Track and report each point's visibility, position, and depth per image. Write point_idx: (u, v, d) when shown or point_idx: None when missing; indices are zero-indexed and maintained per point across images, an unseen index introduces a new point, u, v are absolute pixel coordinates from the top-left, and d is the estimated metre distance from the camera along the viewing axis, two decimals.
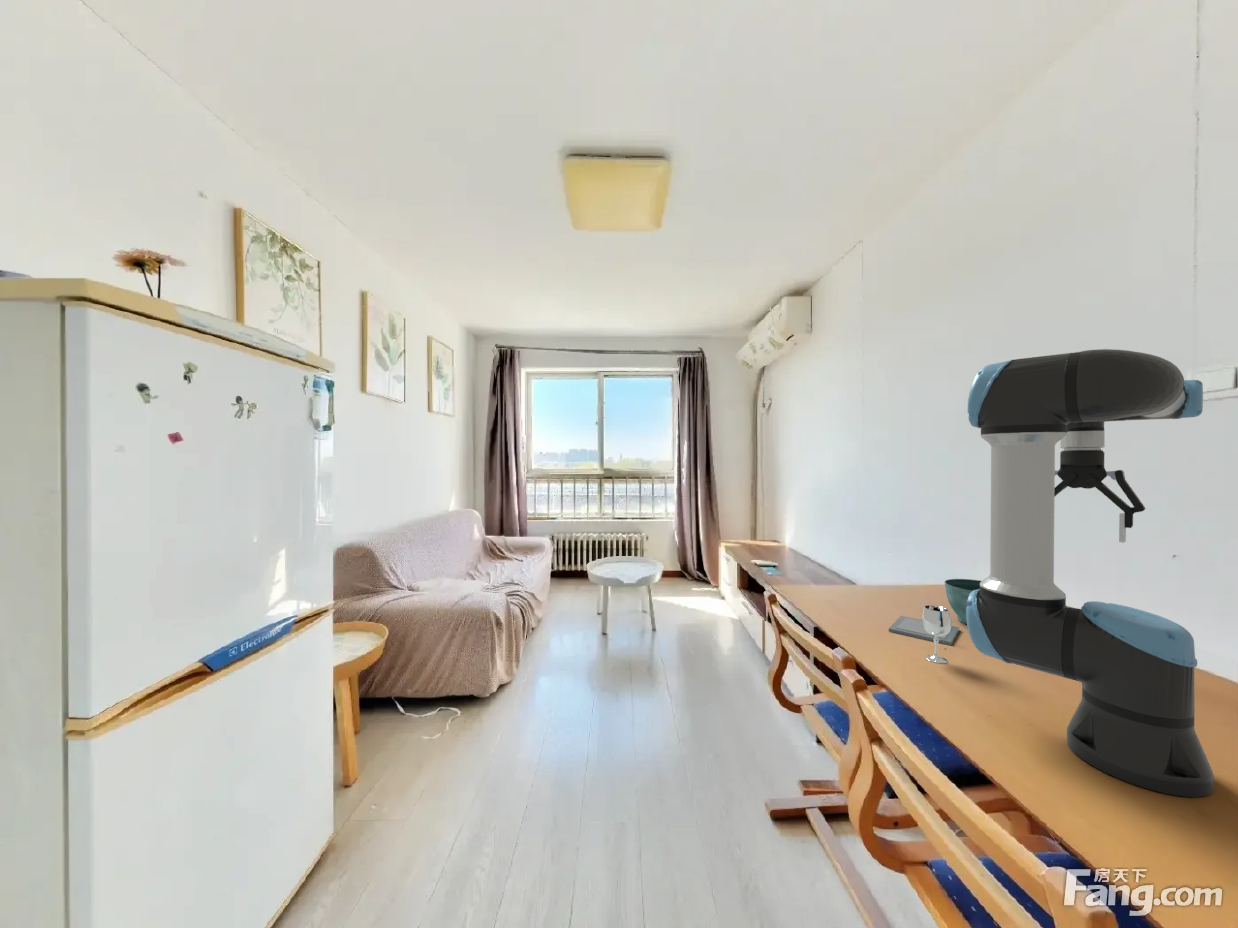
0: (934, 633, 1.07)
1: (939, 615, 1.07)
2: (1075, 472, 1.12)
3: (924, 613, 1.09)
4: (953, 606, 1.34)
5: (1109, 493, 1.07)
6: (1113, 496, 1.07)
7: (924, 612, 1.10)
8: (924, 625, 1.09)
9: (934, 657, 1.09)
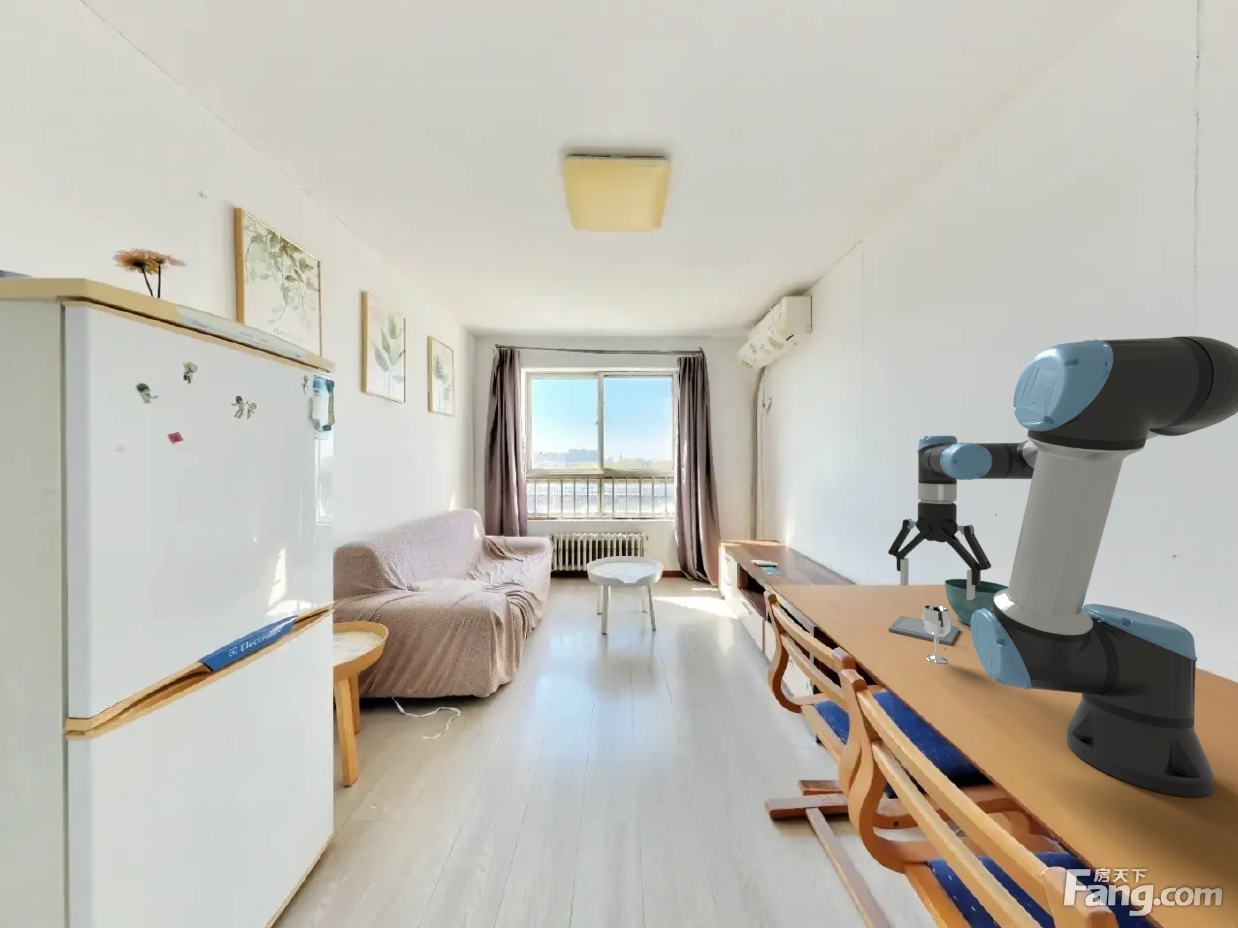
0: (934, 633, 1.07)
1: (939, 615, 1.07)
2: (930, 525, 1.09)
3: (924, 613, 1.09)
4: (953, 606, 1.34)
5: (958, 549, 1.05)
6: (962, 552, 1.04)
7: (924, 612, 1.10)
8: (924, 625, 1.09)
9: (934, 657, 1.09)
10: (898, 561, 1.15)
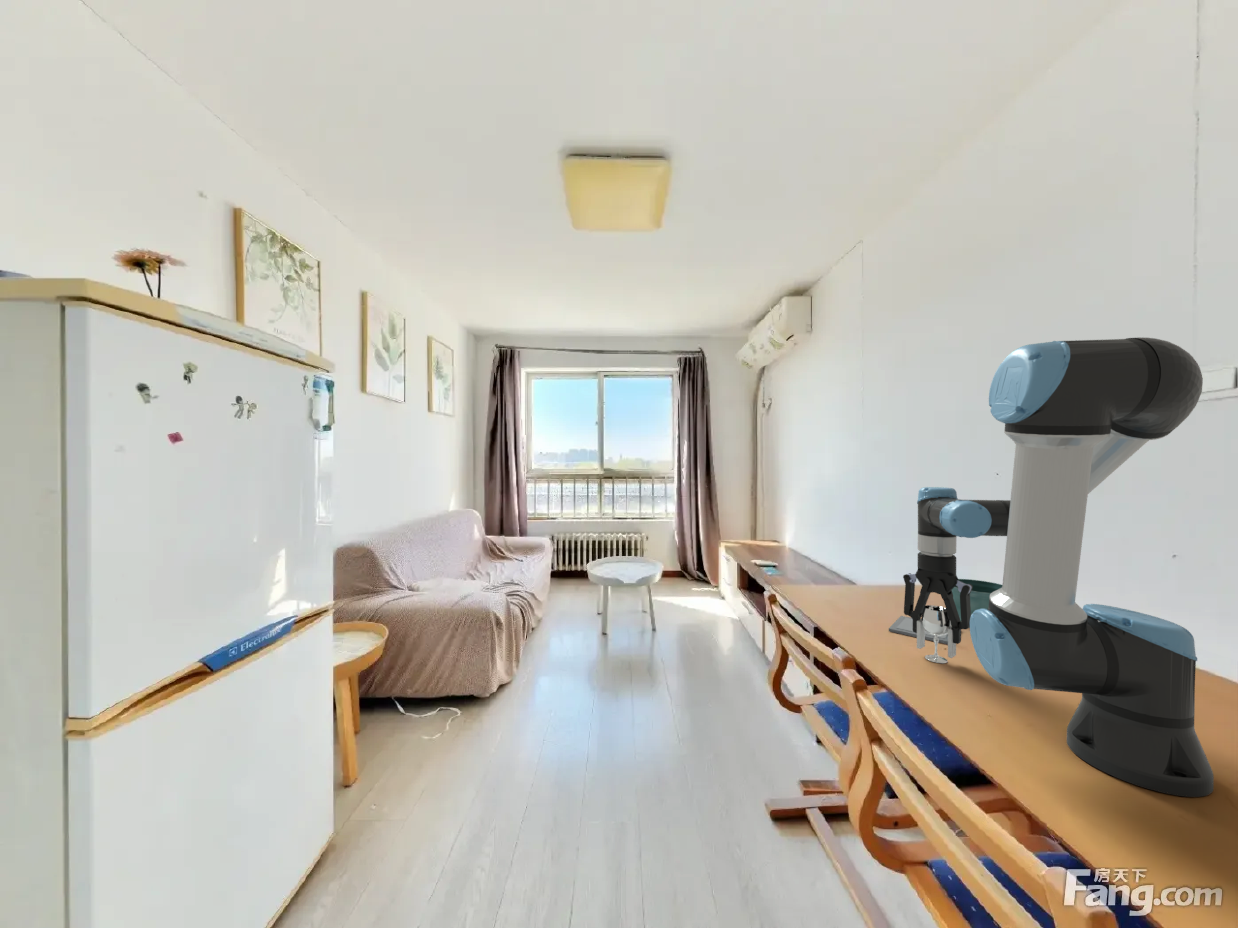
0: (934, 633, 1.07)
1: (939, 615, 1.07)
2: (928, 572, 1.09)
3: (924, 613, 1.09)
4: None
5: (949, 605, 1.06)
6: (951, 609, 1.06)
7: (924, 612, 1.10)
8: (924, 625, 1.09)
9: (934, 657, 1.09)
10: (914, 622, 1.12)
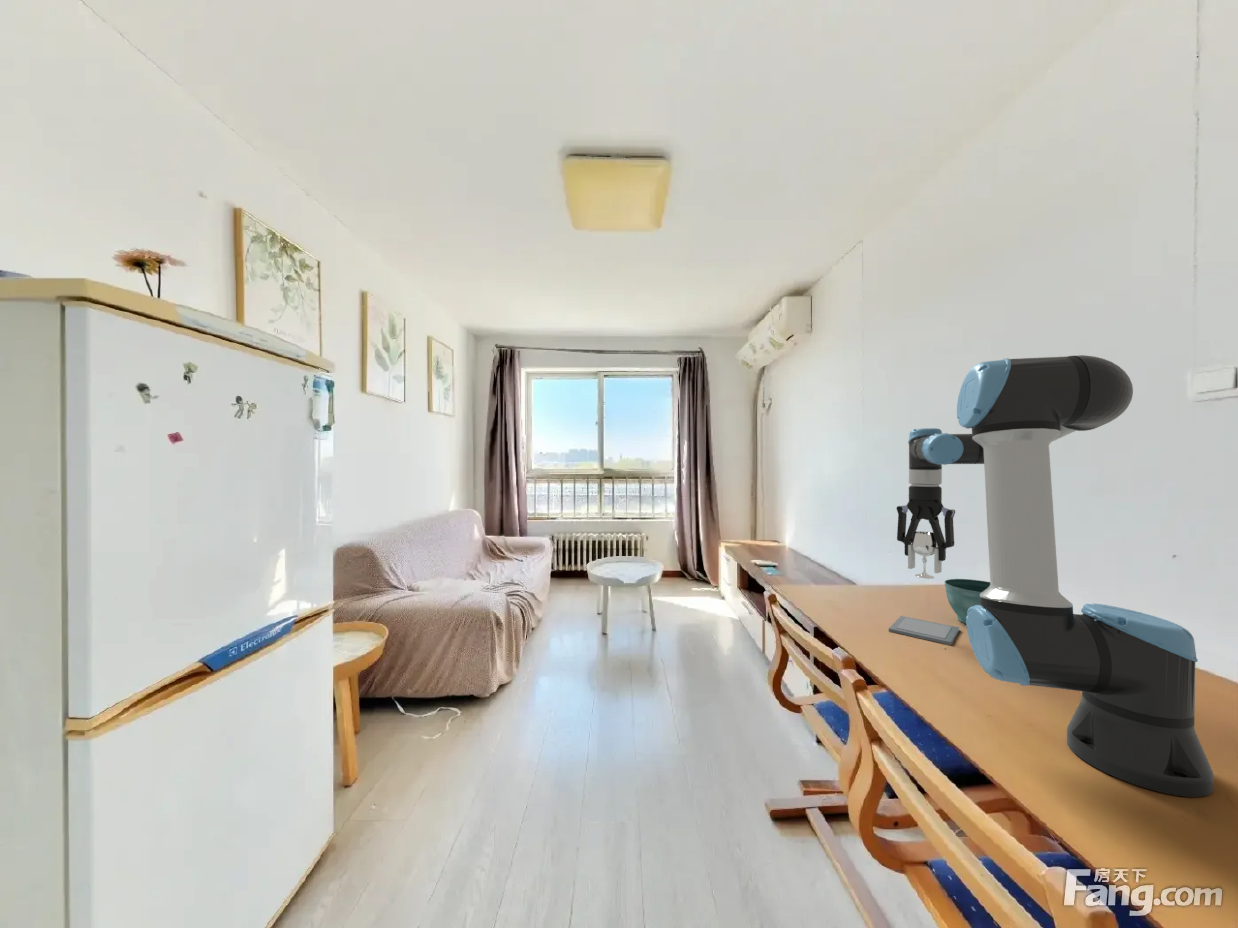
0: (922, 553, 1.25)
1: (927, 537, 1.25)
2: (918, 502, 1.27)
3: (914, 537, 1.27)
4: (953, 606, 1.34)
5: (935, 528, 1.24)
6: (937, 531, 1.23)
7: (914, 536, 1.27)
8: (914, 547, 1.27)
9: (923, 575, 1.26)
10: (906, 546, 1.30)
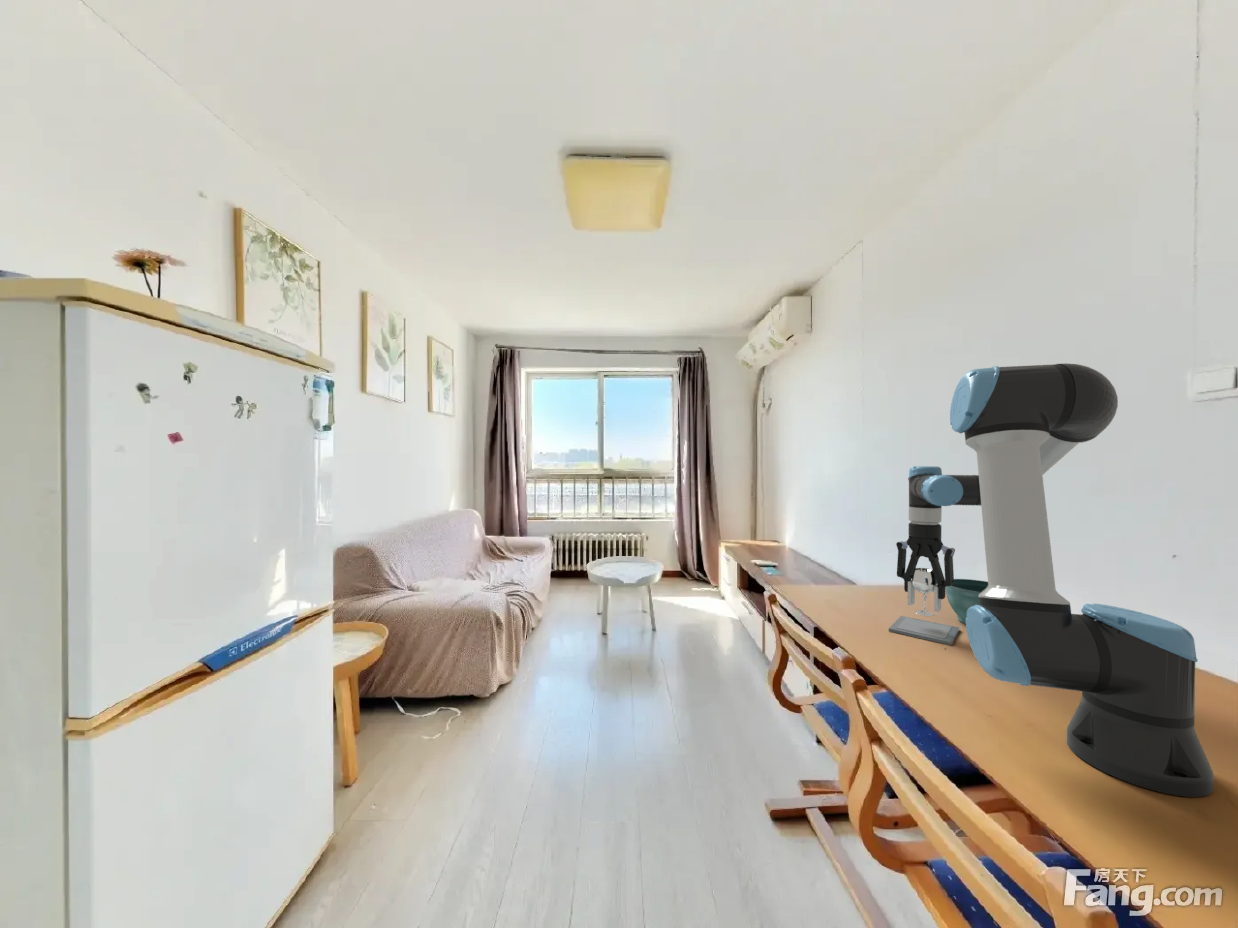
0: (922, 590, 1.25)
1: (927, 575, 1.25)
2: (918, 539, 1.27)
3: (914, 574, 1.27)
4: (953, 606, 1.34)
5: (935, 566, 1.24)
6: (936, 570, 1.24)
7: (914, 573, 1.28)
8: (914, 584, 1.27)
9: (922, 612, 1.27)
10: (905, 583, 1.30)
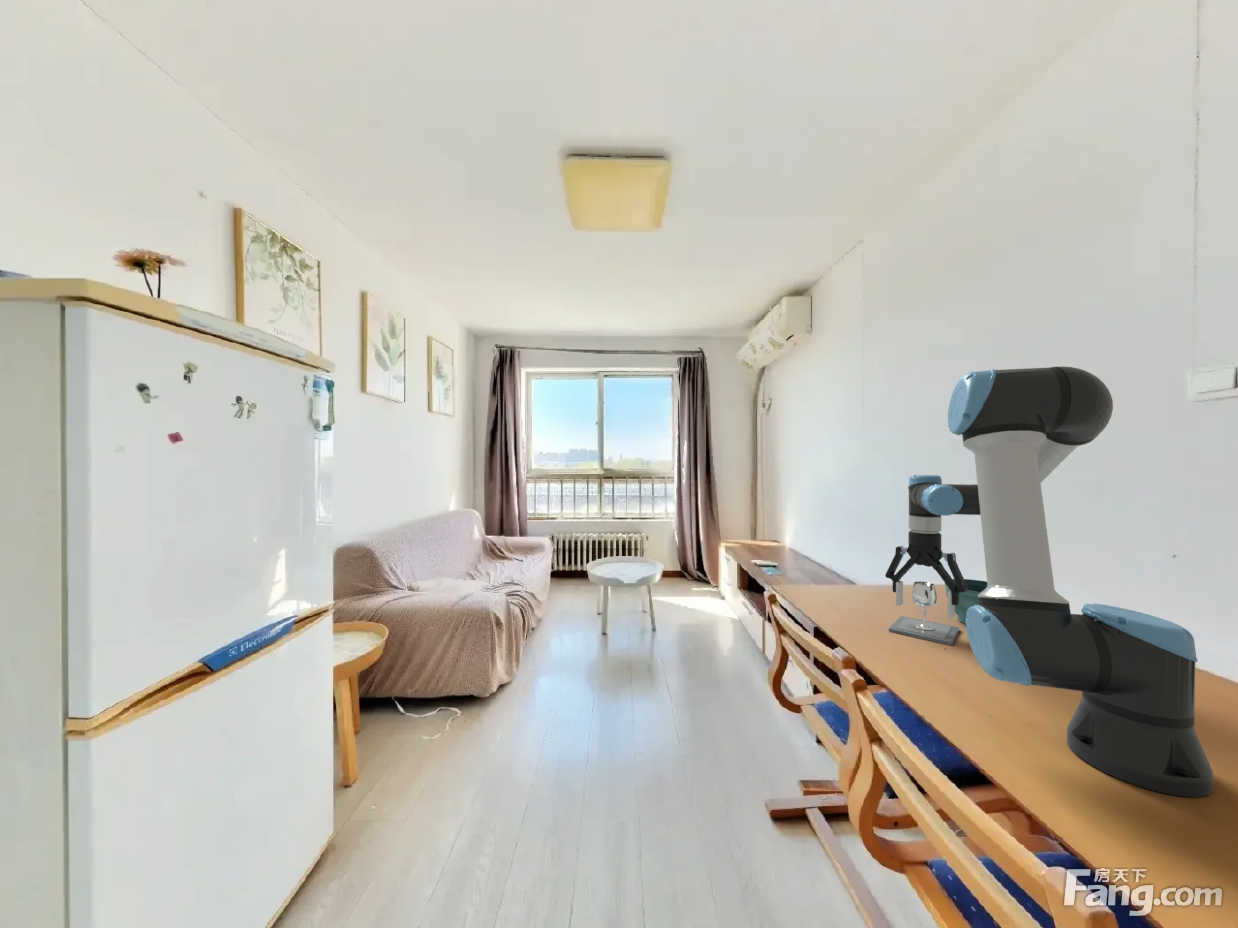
0: (922, 604, 1.26)
1: (926, 588, 1.25)
2: (919, 550, 1.27)
3: (913, 587, 1.28)
4: None
5: (942, 573, 1.23)
6: (944, 576, 1.22)
7: (913, 587, 1.28)
8: (914, 598, 1.27)
9: (922, 625, 1.27)
10: (894, 583, 1.33)
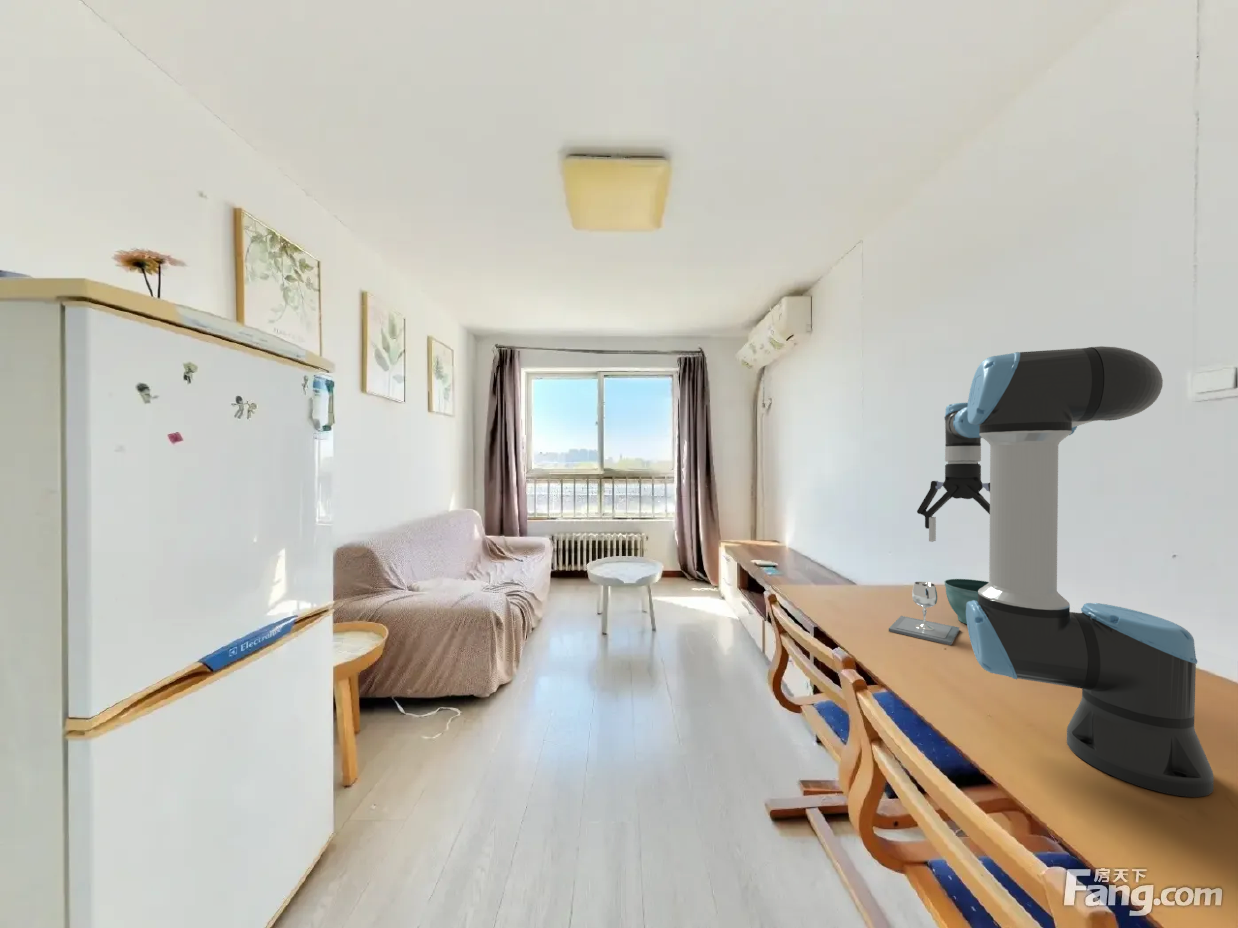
0: (922, 605, 1.25)
1: (927, 589, 1.25)
2: (957, 484, 1.21)
3: (914, 588, 1.27)
4: (953, 606, 1.34)
5: (984, 503, 1.17)
6: (987, 506, 1.16)
7: (914, 587, 1.27)
8: (914, 598, 1.27)
9: (922, 626, 1.27)
10: (926, 519, 1.27)
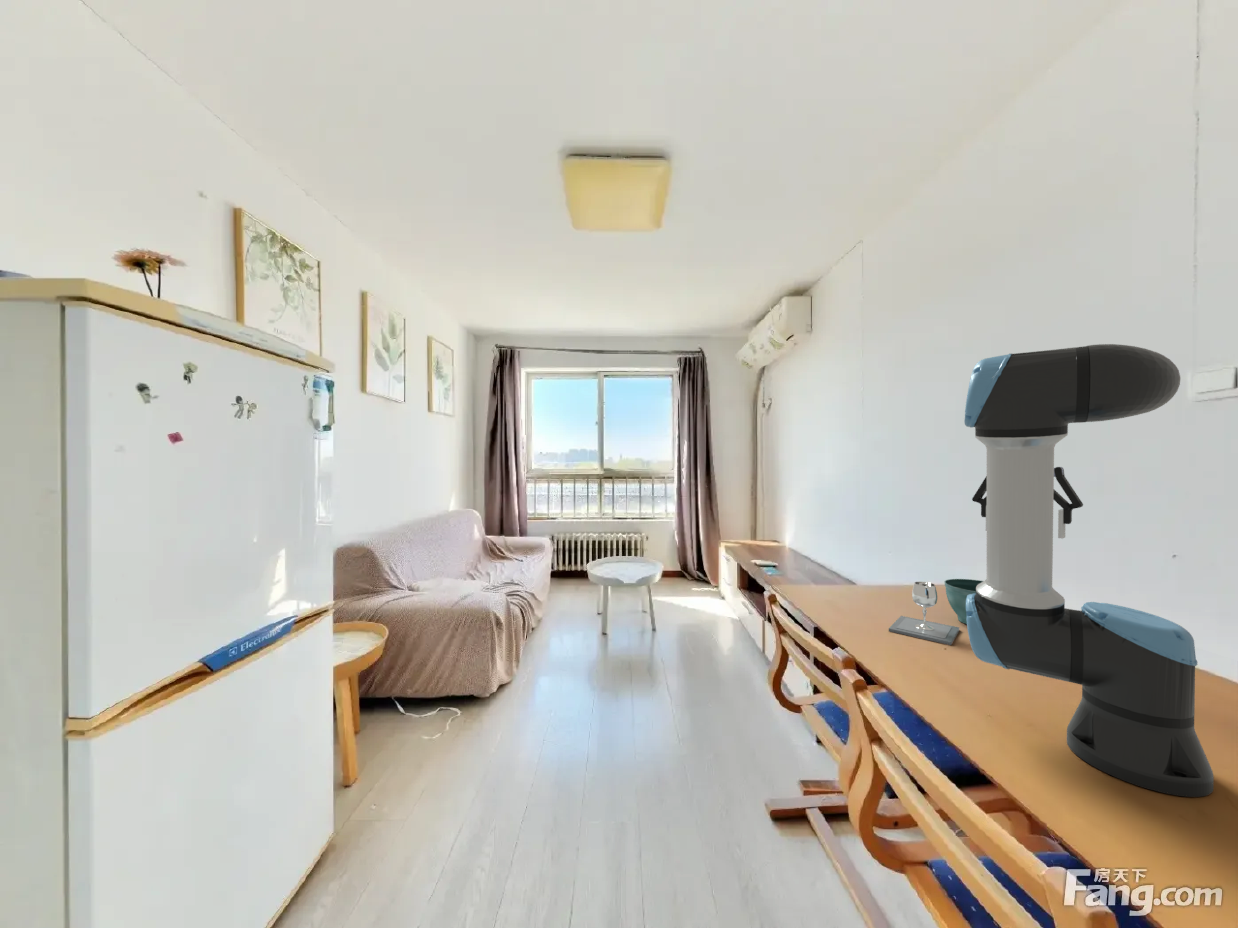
0: (922, 605, 1.25)
1: (927, 589, 1.25)
2: None
3: (914, 588, 1.27)
4: (953, 606, 1.34)
5: None
6: None
7: (914, 587, 1.27)
8: (914, 598, 1.27)
9: (922, 626, 1.27)
10: (983, 507, 1.19)
